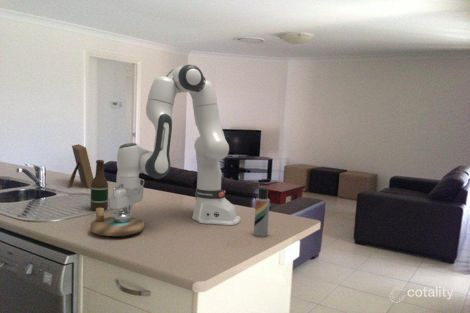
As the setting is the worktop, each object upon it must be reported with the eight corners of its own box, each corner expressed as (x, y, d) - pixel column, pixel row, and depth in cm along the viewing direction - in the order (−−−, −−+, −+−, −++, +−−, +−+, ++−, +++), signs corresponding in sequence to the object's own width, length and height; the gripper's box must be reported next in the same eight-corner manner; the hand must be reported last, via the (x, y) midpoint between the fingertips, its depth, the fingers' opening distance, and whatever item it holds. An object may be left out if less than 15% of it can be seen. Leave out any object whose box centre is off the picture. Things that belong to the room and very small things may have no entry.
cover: (134, 220, 160) (134, 210, 160) (124, 224, 153) (124, 214, 153) (119, 217, 162) (119, 208, 162) (109, 221, 155) (109, 211, 155)
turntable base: (141, 229, 160) (142, 226, 160) (124, 239, 146) (124, 235, 146) (111, 225, 163) (111, 222, 163) (91, 234, 150) (91, 231, 150)
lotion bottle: (259, 232, 165) (261, 185, 163) (270, 235, 162) (273, 187, 160) (250, 234, 161) (253, 186, 159) (262, 238, 157) (265, 189, 155)
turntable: (152, 224, 162) (152, 208, 161) (127, 238, 143) (127, 219, 142) (109, 219, 167) (109, 203, 166) (79, 231, 147) (79, 213, 147)
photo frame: (87, 182, 256) (88, 144, 254) (95, 188, 238) (95, 147, 235) (63, 183, 249) (63, 144, 246) (69, 189, 230) (69, 147, 228)
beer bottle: (89, 212, 182) (90, 161, 180) (91, 208, 190) (92, 159, 187) (107, 211, 184) (108, 161, 182) (108, 207, 192) (109, 159, 190)
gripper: (120, 187, 149) (120, 223, 151) (146, 179, 169) (145, 211, 171) (106, 186, 151) (105, 221, 153) (133, 178, 171) (132, 209, 172)
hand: (127, 215), depth 162 cm, fingers closed
